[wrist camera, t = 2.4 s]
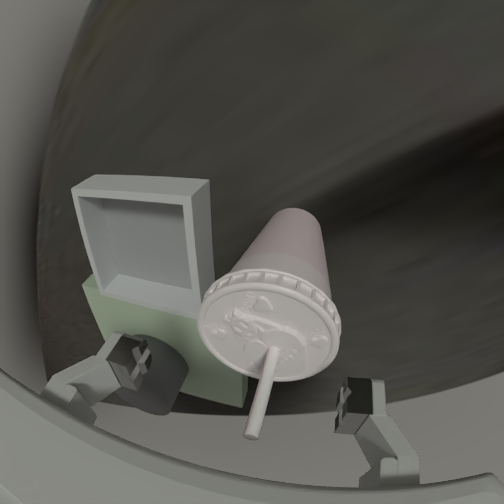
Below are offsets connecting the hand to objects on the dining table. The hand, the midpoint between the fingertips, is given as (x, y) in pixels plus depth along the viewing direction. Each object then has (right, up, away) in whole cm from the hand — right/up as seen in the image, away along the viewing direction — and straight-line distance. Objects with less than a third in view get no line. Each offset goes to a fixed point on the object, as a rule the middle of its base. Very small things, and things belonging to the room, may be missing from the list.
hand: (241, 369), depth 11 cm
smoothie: (+3, +6, +9) cm, 12 cm away
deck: (-8, 0, +16) cm, 18 cm away
